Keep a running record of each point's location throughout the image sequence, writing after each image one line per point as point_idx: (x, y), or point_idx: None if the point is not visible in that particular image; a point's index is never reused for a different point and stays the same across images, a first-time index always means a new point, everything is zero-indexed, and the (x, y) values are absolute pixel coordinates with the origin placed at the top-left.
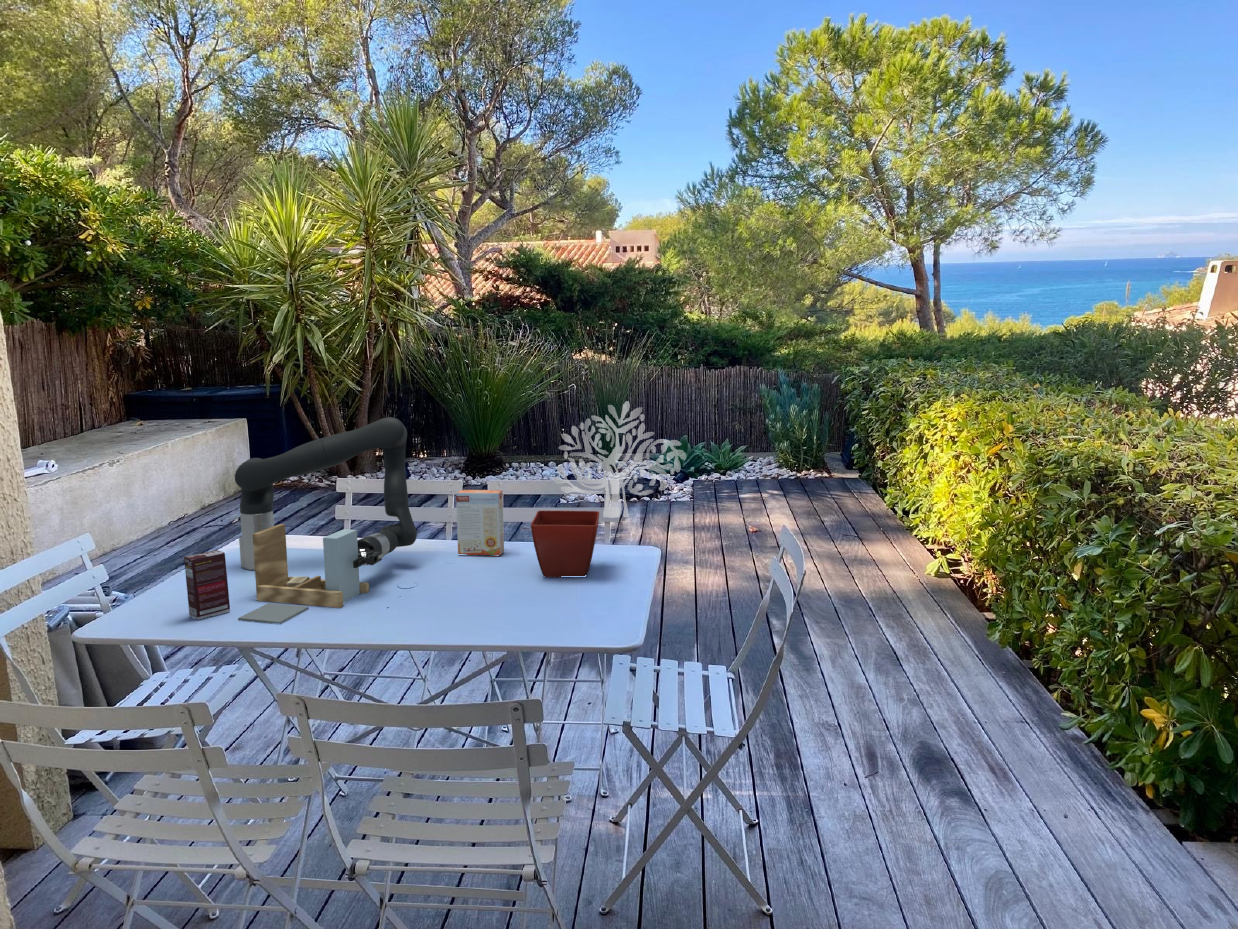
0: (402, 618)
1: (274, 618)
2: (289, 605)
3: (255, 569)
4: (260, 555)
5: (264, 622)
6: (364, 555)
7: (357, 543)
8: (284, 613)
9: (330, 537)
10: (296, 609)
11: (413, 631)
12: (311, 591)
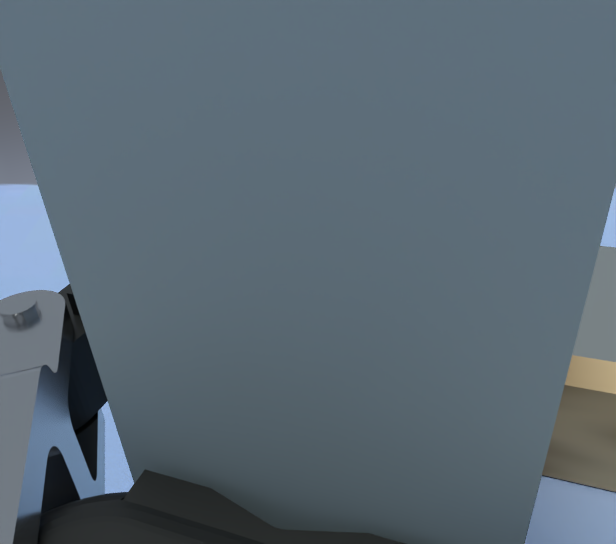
0: (21, 286)
1: (601, 261)
2: None
3: None
4: None
5: None
6: (12, 307)
7: (34, 156)
8: (608, 302)
9: None
10: (588, 344)
11: (27, 215)
12: (589, 362)
